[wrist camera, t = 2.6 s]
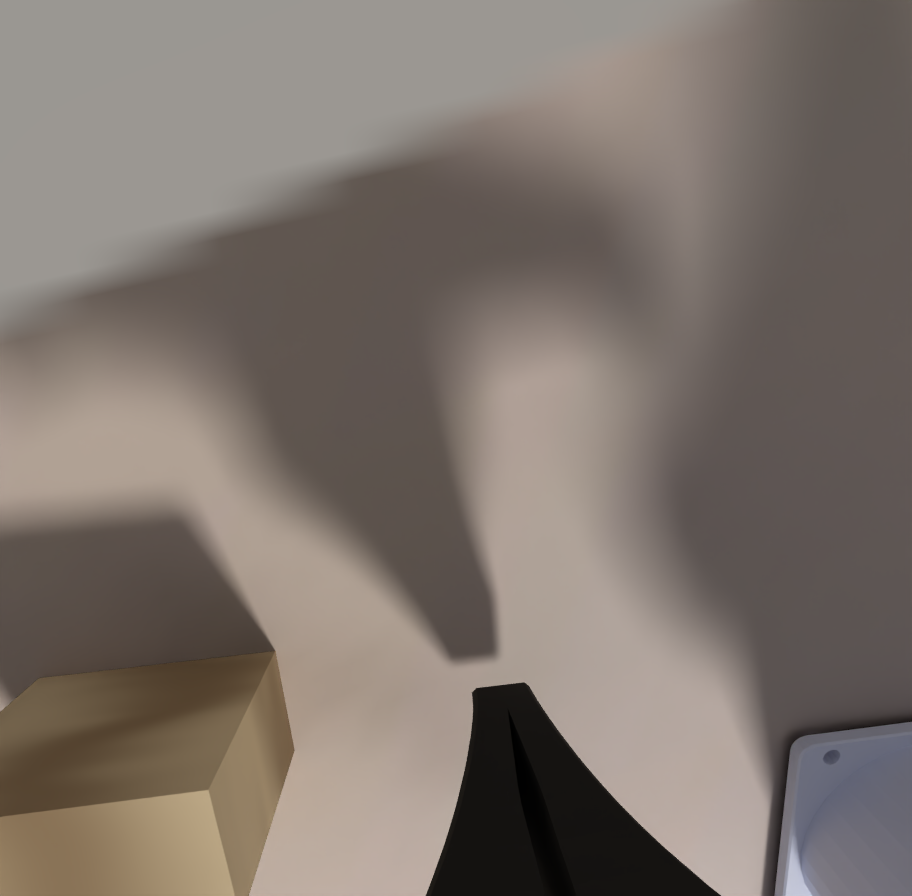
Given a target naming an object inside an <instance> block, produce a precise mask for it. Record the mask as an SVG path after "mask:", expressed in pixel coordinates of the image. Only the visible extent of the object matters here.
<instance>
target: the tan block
mask: <svg viewBox="0 0 912 896" xmlns="http://www.w3.org/2000/svg"><path fill="white" fill-rule="evenodd" d="M293 753H294V745H293V740H292V735H291V730H290V725H289V719H288V714H287V709H286V704H285V699H284V693H283V688H282V683H281V678H280V673H279V667H278V662H277V657H276V652H275V651H270V652H261V653H253V654H244V655H235V656H227V657H218V658H209V659H201V660H192V661H183V662H175V663H166V664H157V665H149V666H140V667H131V668H123V669H114V670H105V671H97V672H88V673H79V674H71V675H62V676H53V677H45V678H39V679H38V680H36V681H35V682H34V683H33V684H32V685H31V686H30V687H28V688H27V689H26V690H25V691H24V692H23V693H21V694H20V695H19V696H18V697H17V698H16V699H15V700H13V701H12V702H11V703H10V704H9V705H8V706H7V707H5V708H4V709H3V710H2V711H1V712H0V896H249V893H250V890H251V887H252V883H253V880H254V877H255V874H256V871H257V868H258V864H259V861H260V858H261V855H262V852H263V849H264V845H265V842H266V839H267V836H268V833H269V829H270V826H271V823H272V820H273V817H274V814H275V810H276V807H277V804H278V801H279V798H280V795H281V791H282V788H283V785H284V782H285V779H286V776H287V772H288V769H289V766H290V763H291V760H292V757H293Z"/></svg>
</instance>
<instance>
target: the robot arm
mask: <svg viewBox="0 0 912 896" xmlns="http://www.w3.org/2000/svg"><path fill="white" fill-rule="evenodd" d="M472 697H473V722H472V731H471V738H470V744H469V750H468V756H467V762H466V767H465V771H464V776H463V780H462V784H461V788H460V792H459V797H458V801H457V804H456V808H455V812H454V815H453V819H452V822H451V825H450V829H449V832H448V835H447V838H446V841H445V844H444V847H443V850H442V853H441V856H440V859H439V862H438V864H437V867H436V870H435V873H434V875H433V878H432V881H431V884H430V886H429V889H428V891H427V894H426V896H721V895H720V894H718V893H717V892H716V891H714V890H713V889H712V888H711V887H709V886H708V885H707V884H706V883H705V882H704V881H702V880H701V879H700V878H699V877H698V876H697V875H695V874H694V873H693V872H692V871H691V870H690V869H688V868H687V867H686V866H685V865H684V864H683V863H682V862H680V861H679V860H678V859H677V858H676V857H675V856H673V855H672V854H671V853H670V852H669V851H668V850H666V849H665V848H664V847H663V846H662V845H661V844H660V843H659V842H658V841H657V840H656V839H655V838H653V837H652V836H651V835H650V834H649V833H648V832H647V831H646V830H645V829H644V828H643V827H642V826H641V825H640V824H639V823H638V822H637V821H636V820H635V819H634V818H633V817H632V816H631V815H630V814H629V813H628V812H627V811H626V810H625V809H624V808H623V807H622V806H621V805H620V804H619V803H618V802H617V801H616V800H615V799H614V797H613V796H612V795H611V794H610V793H609V792H608V791H607V790H606V789H605V788H604V787H603V785H602V784H601V783H600V782H599V781H598V780H597V778H596V777H595V776H594V775H593V774H592V773H591V772H590V770H589V769H588V768H587V767H586V766H585V764H584V763H583V762H582V761H581V760H580V758H579V757H578V756H577V755H576V753H575V752H574V751H573V749H572V748H571V747H570V746H569V744H568V743H567V742H566V740H565V739H564V738H563V736H562V735H561V734H560V733H559V731H558V730H557V728H556V727H555V726H554V724H553V723H552V721H551V720H550V719H549V717H548V716H547V714H546V713H545V711H544V710H543V708H542V707H541V705H540V704H539V702H538V701H537V699H536V697H535V696H534V694H533V692H532V691H531V689H530V687H529V686H528V685H527V684H526V683H516V684H508V685H499V686H491V687H482V688H476V689H475V690H474V691H473V692H472ZM775 896H912V722H906V723H898V724H891V725H883V726H875V727H867V728H860V729H852V730H844V731H836V732H829V733H821V734H813V735H806V736H802V737H800V738H798V739H797V740H795V742H794V743H793V744H792V746H791V749H790V757H789V766H788V775H787V784H786V794H785V803H784V812H783V821H782V831H781V840H780V849H779V859H778V868H777V877H776V886H775Z"/></svg>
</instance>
